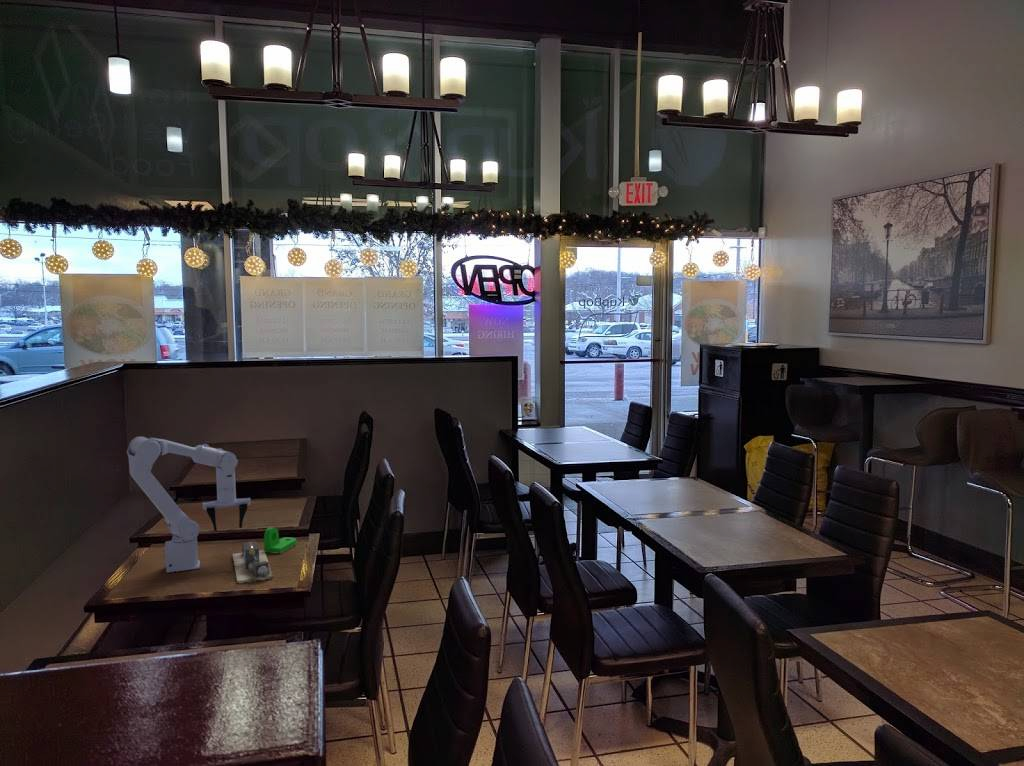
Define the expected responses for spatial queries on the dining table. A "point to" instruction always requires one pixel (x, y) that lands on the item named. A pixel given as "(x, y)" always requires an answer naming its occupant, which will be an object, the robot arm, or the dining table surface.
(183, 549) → the robot arm
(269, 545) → the mechanical part
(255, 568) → the angled shaft
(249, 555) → the grey slotted block
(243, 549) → the metal cylinder fitting
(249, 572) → the board
